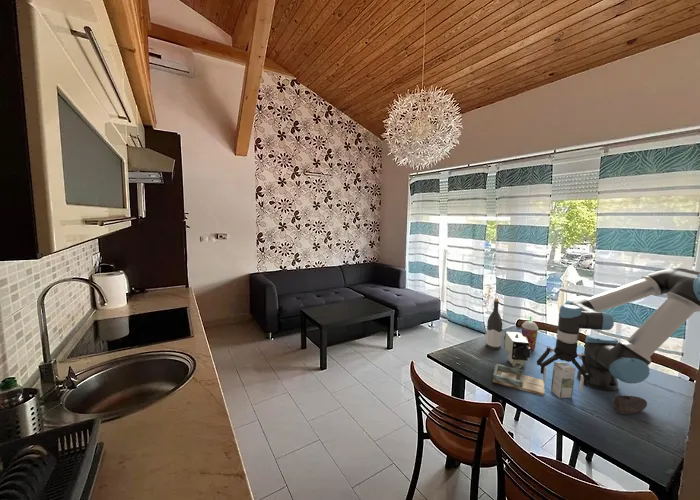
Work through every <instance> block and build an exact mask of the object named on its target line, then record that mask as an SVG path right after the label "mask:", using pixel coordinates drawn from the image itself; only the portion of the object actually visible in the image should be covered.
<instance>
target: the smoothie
mask: <svg viewBox="0 0 700 500" xmlns="http://www.w3.org/2000/svg"><path fill="white" fill-rule="evenodd" d="M538 332H539V327H538V325H537V324H536V322H534V321H532V316H529V320H526V321H523V323H522V325H521V335H522V336H523V337H526V339H528V343H529V348H530V349H531V351H534V350H535V348H536V344H537V337H538ZM531 351H530V352H531Z"/></svg>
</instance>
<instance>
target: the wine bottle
mask: <svg viewBox="0 0 700 500" xmlns="http://www.w3.org/2000/svg"><path fill="white" fill-rule="evenodd" d="M499 302H500V301H499V298H496V297H495V298H494V300H493V311H492V312H491V313H490V314H489V316H488V319H487V323H486V324H487V325H486V326H487V327H486V338H485V339H486V342H485V343H486V344H485V345H486V347H487V348H488V349H492V350H499V349H500V350H501V348H502V337H503V336H502V335H503V333H502V332H503V321H502V317H501V315H500V313H499Z"/></svg>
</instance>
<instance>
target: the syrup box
mask: <svg viewBox="0 0 700 500" xmlns="http://www.w3.org/2000/svg"><path fill="white" fill-rule="evenodd" d="M575 375H576V367H575V366H573V365H572V364H570V363H568V362H567V361H554V362H553V369H552V378H551V386H550V387H551V388H550V391H551V392H552V393H553V394H554V395H555V396H556V397H557V398H559V399H572V398H573V392H574V384H575V378H576V376H575Z"/></svg>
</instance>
